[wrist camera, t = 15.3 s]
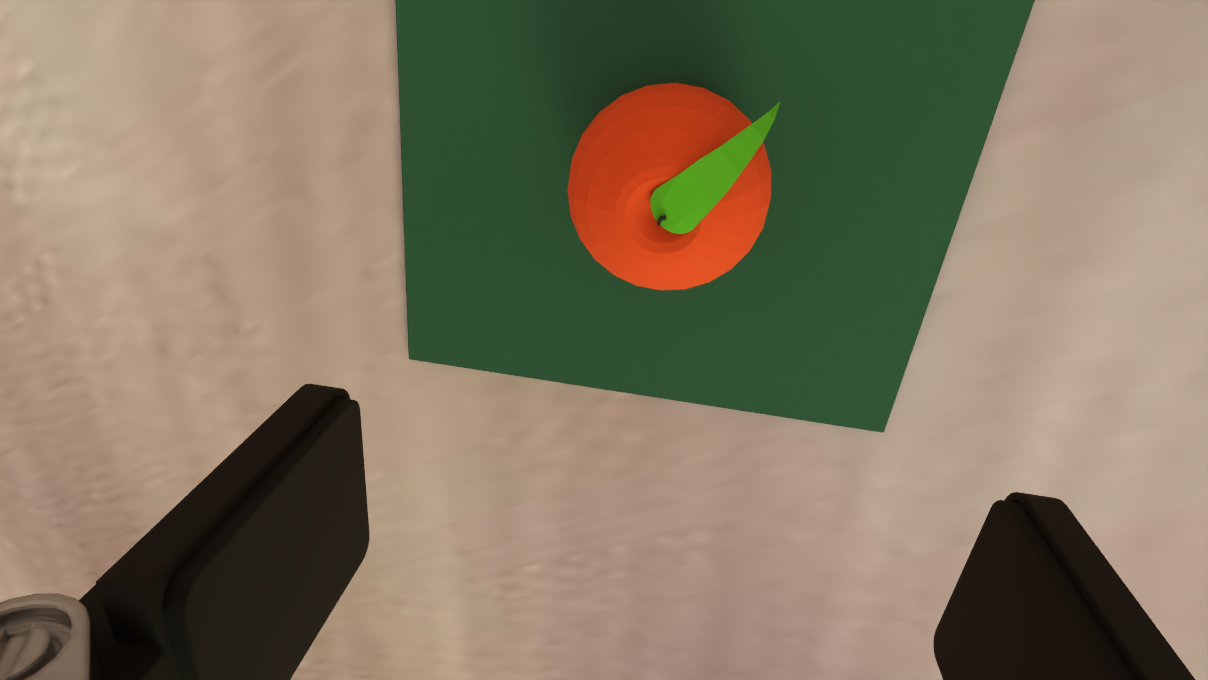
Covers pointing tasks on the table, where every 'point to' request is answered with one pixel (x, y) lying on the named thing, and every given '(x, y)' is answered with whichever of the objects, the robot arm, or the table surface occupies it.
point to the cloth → (795, 215)
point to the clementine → (670, 186)
